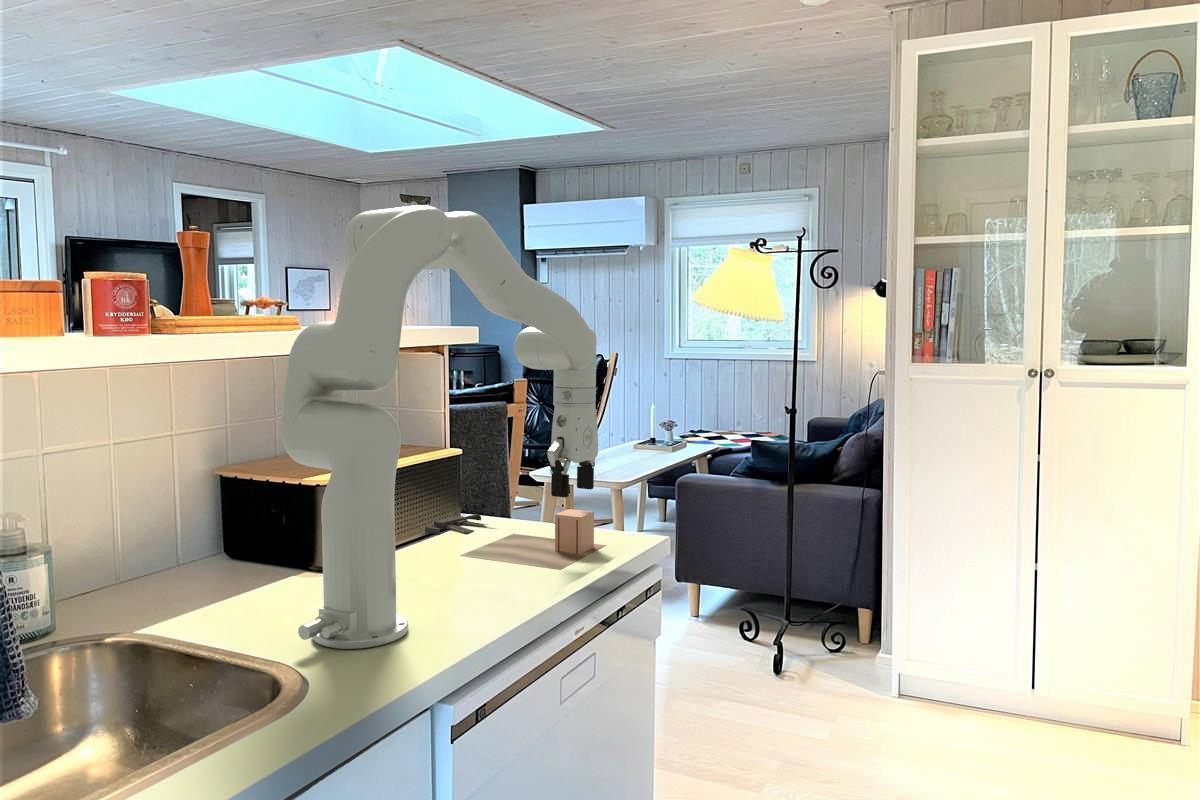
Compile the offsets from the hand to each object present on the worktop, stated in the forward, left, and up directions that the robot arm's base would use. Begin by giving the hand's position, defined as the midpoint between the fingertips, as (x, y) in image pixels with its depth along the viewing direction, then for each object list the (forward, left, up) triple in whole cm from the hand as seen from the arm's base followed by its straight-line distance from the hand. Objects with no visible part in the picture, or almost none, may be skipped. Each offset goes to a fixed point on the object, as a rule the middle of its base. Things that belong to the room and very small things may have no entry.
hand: (572, 492), depth 159 cm
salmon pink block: (+1, 0, -10) cm, 10 cm away
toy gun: (+8, +28, -13) cm, 32 cm away
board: (-3, +6, -12) cm, 14 cm away
